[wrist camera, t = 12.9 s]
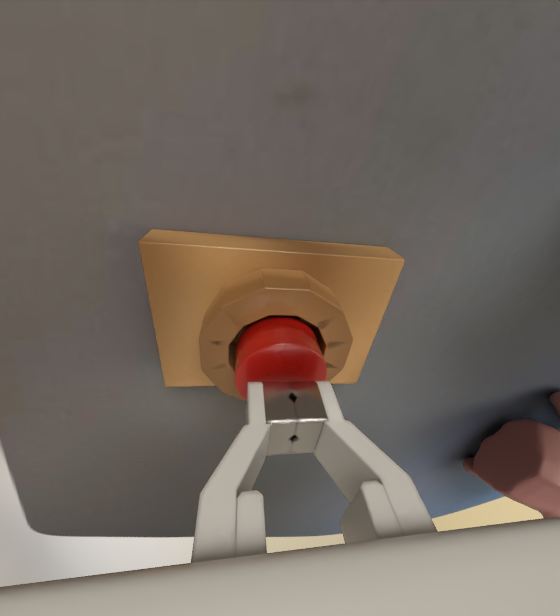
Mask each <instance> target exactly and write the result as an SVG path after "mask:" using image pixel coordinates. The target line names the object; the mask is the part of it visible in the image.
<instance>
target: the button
mask: <svg viewBox="0 0 560 616" xmlns="http://www.w3.org/2000/svg"><path fill="white" fill-rule="evenodd" d="M326 376H327V366H326V363H325V360H324V358H323V355H322V352H321V350H320V347H319V344H318V342H317V339H316V336H315V334H314V332H313V331H312V330H311V328H310V327H309V326H307V325H306V324H305V323H303V322H302V321H299V320H297V319H294V318H290V317H282V316H281V317H270V318H266V319H263V320H260V321H258V322H256V323H254V324H252V325H251V326H249V327H248V328H247V329H246V330H245V331H244V332H243V333H242V335H241V336H240V337H239V339H238V342H237V345H236V354H235V386H236V389H237V391H238V392H239V394H240V395H241V396H242V397H243V398H244V399H245V400H246V398H247V384H248V382H292V381H325V380H326Z"/></svg>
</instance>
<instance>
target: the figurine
mask: <svg viewBox="0 0 560 616" xmlns="http://www.w3.org/2000/svg"><path fill="white" fill-rule="evenodd" d="M550 401H551V402H552V404H553V405H554V407H555V408H556V410H557V412H558V414H559V416H560V392H555V393H553V394H552V395H551V396H550ZM463 466H464V468H465V470H466V471H467V472H469V473H470V474H472V475H474V476H477V477H479V478H480V479H482V480H483V481H484V482H485V483H487V484H488V485H489V486H491V487H492V488H494V489H495V490H496V491H498V492H499V493H501V494H503V495H504V496H506V497H508V498H510V499H512V500H514V501H516V502H519V503H521V504H524V505H526V506H528V507H530V508H532V509H535V510H538V511H539V512H540V513H541V514H542V515H543V517H544V518H551V517H559V516H560V431H559V430H557V429H555V428H553V427H550V426H548V425H545V424H543V423H540V422H537V421H534V420H531V419H520V420H515V421H509V422H507V423H505V424H504V425H502V427H501V428H500V430H499V431H497V432H496V433H495V434H493V435H492V436H489V437H487V438H486V439H484V440H483V442H482V443H481V446H480V449H479V451H478V452H477V454H476V455H475V457H469V458H467V459H465V460H464V462H463Z"/></svg>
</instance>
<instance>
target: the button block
mask: <svg viewBox="0 0 560 616" xmlns="http://www.w3.org/2000/svg"><path fill="white" fill-rule="evenodd" d="M138 244H139V249H140V254H141V260H142V265H143V270H144V276H145V281H146V286H147V292H148V297H149V302H150V308H151V313H152V318H153V324H154V329H155V335H156V340H157V345H158V351H159V356H160V361H161V367H162V372H163V377H164V383H165V387H181V386H217V387H218V388H219V390H220V391H221V392H222V393H224V394H226V395H229V396H232V397H235V398H238V399H241V400H244V401H246V400H245V399H244V398H243V397H242V396H241V395H240V394H239V392H238V391H237V389H236V386H235V354H236V345H237V342H238V339H239V337H240V336H241V335H242V333H243V332H244V331H245V330H246V329H247V328H248V327H249V326H251V325H252V324H254V323H256V322H258V321H260V320H263V319H266V318H270V317H281V316H282V317H290V318H294V319H297V320H299V321H302V322H303V323H305V324H306V325H307V326H309V327H310V328H311V330H312V331H313V332H314V334H315V336H316V339H317V342H318V344H319V347H320V350H321V352H322V355H323V358H324V360H325V363H326V366H327V376H326V380H325V381H329V382H330V383H331V384H339V383H357V380H358V378H359V375H360V373H361V370H362V368H363V365H364V363H365V360H366V358H367V355H368V353H369V350H370V348H371V345H372V343H373V340H374V338H375V335H376V333H377V330H378V328H379V325H380V323H381V320H382V318H383V315H384V313H385V310H386V308H387V305H388V303H389V300H390V298H391V295H392V293H393V290H394V288H395V285H396V283H397V280H398V278H399V275H400V273H401V270H402V268H403V265H404V263H405V259H403V258H402V257H401V256H399V255H398V254H396V253H395V252H394V251H392V250H391V249H389V248H388V247H380V246H367V245H354V244H341V243H328V242H315V241H301V240H288V239H275V238H262V237H249V236H236V235H223V234H210V233H197V232H184V231H171V230H158V229H151V230H150V231H149V232H148V233H147V234H146V235H145V236H144V237H143V238H142V239H141V240H140V241H139V242H138Z"/></svg>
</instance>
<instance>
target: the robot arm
mask: <svg viewBox="0 0 560 616" xmlns="http://www.w3.org/2000/svg"><path fill="white" fill-rule="evenodd" d="M296 453H314V455H315V457H316V458H317V459H318V461H319V462H320V463H321V465H322V466H323V467H324V469H325V470H326V471H327V473H328V474H329V475H330V477H331V478H332V479H333V481H334V482H335V483H336V485H337V486H338V487H339V489H340V490H341V491H342V493H343V494H344V495H345V497H346V498H347V499H348V501H349V502H350V505H349V506H348V508H347V510H346V511H345V513H344V515H343V517H342V518H341V520H340V525H341V529H342V533H343V537H344V541H345V544H338V545H330V546H322V547H314V548H306V549H298V550H291V551H282V552H274V553H267V550H266V535H265V519H264V503H263V495H262V494H261V493H260V492H259V491H258V490H255V491H251V489H252V487H253V485H254V483H255V480H256V478H257V476H258V474H259V472H260V469H261V467H262V465H263V463H264V461H265V458H266V456H270V455H281V454H296ZM0 616H560V516H559V517H551V518H543V519H535V520H527V521H520V522H512V523H504V524H496V525H488V526H480V527H472V528H464V529H457V530H448V531H440V532H438V531H437V530H436V527H435V525H434V523H433V521H432V519H431V517H430V515H429V513H428V511H427V509H426V507H425V505H424V503H423V501H422V499H421V497H420V495H419V493H418V491H417V489H416V487H415V485H414V483H413V482H412V480H411V478H410V476H409V475H408V474H407V473H406V472H405V471H403V470H402V469H401V468H400V467H399V466H398V465H397V464H396V463H395V462H394V461H393V460H391V459H390V458H389V457H388V456H387V455H386V454H385V453H384V452H383V451H382V450H381V449H379V448H378V447H377V446H376V445H375V444H374V443H373V442H372V441H371V440H370V439H368V438H367V437H366V436H365V435H364V434H363V433H362V432H361V431H360V430H359V429H358V428H356V427H355V426H354V425H353V424H352V423H351V422H350V421H349V420H344V418H343V415H342V412H341V409H340V407H339V404H338V401H337V399H336V396H335V393H334V391H333V388H332V385H331V383H330V382H329V381H292V382H248V384H247V398H246V425H244V426H243V427H242V429H241V430H240V432H239V434H238V435H237V437H236V438H235V440H234V441H233V443H232V444H231V446H230V448H229V449H228V451H227V452H226V454H225V455H224V457H223V458H222V460H221V462H220V463H219V465H218V466H217V468H216V469H215V471H214V472H213V474H212V476H211V477H210V479H209V480H208V482H207V483H206V485H205V486H204V488H203V490H202V491H201V493H200V498H199V505H198V513H197V521H196V528H195V536H194V544H193V551H192V559H191V563H187V564H179V565H171V566H163V567H155V568H148V569H140V570H132V571H124V572H116V573H109V574H100V575H92V576H85V577H76V578H69V579H60V580H53V581H45V582H37V583H29V584H21V585H13V586H6V587H0Z"/></svg>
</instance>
